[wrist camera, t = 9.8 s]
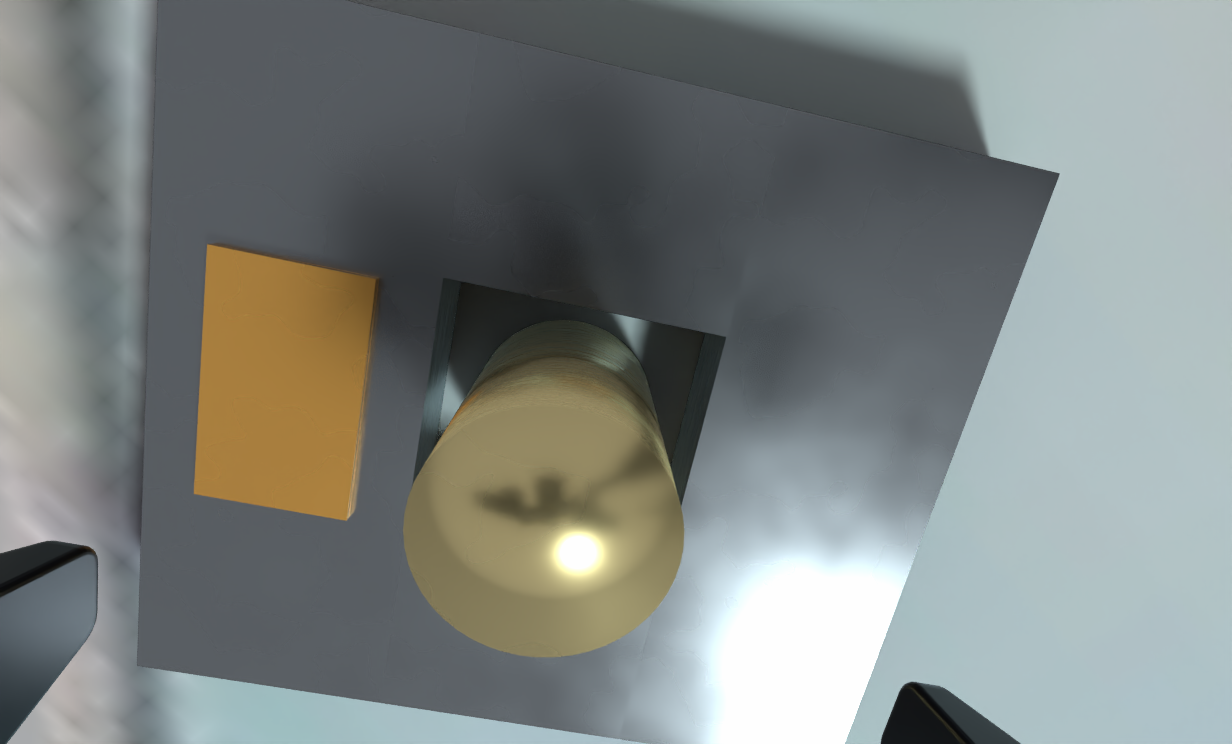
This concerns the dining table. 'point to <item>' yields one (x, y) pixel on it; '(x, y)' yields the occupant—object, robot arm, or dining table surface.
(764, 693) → the hole plate
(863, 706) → the dining table surface
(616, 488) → the brass peg
